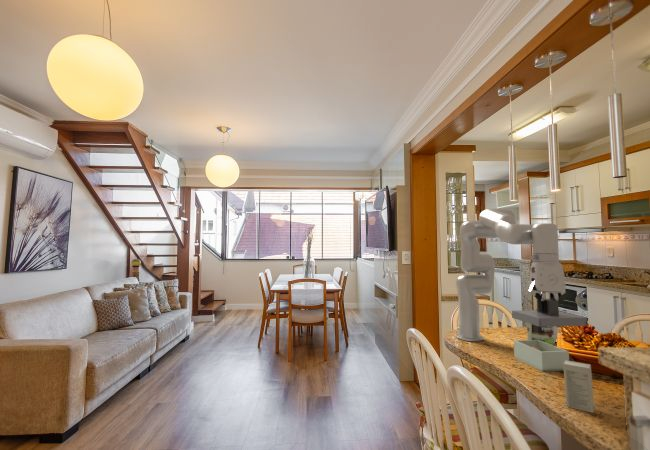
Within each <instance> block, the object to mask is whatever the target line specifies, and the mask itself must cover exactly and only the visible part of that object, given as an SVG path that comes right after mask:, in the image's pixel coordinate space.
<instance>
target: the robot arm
mask: <svg viewBox="0 0 650 450" xmlns="http://www.w3.org/2000/svg"><path fill="white" fill-rule="evenodd" d="M516 223H517V221H516V215H515V213H514V212H513V210H510V209H509V208H487V209H486V208H485V209H484V210H482V211H481V212H480V213H479V216H478V219H477V220H476V219H475V220H467V221H464V222H462V224H461V225H460V227H459V237H460V242H461V244H460V245H461V246H460V247H461V249H460V268H461V270H462V271H463V272H465V273H480V274H461V275H458V277H456V280H455V286H456V290H457V296H458V301H457V302H458V326H457V330H458V332H457V333H456V334H455V337H456V338H457V339H459V340H461V341H466V342H473V343H474V342H477V343H478V342H482V341H484V336H482V335H480V333H481V330H480V324H481V323H480V322H481V321H480V302H479V300H478V298H477V297H476V296H475V295H476V294H477V295H478V294H482V295H484V294H491V292H492V291H493V289H494V284H495V281H494V280H495V267H496V264H495V261H494V257H493V256H492V255H491V254H489V253H480V252H481V244H480V243H479V241H478V239H497V238H498V239H499V240H501V241H503V242H505V243H507V244H510V245H532V255H530V259H531V260H532V262H531V264H530V271H529V289H528V290H527V292H528V294H531V295H532V296H533V297H534V298H535V300H536V301H537V300H538V311H539V312H543V313H547V302H546V301H545V298H546V293H548V299H552V300H557V301H558V302H559V300H560V297H561V296H563V295H564V294H566V292H567V291H566V278H565V271H564V268H563V265H562V263H561V262H560V258H559V257H560V256H559V232H558V231H559V230H558V225H557V224H555V223H536V224H528V223H527V224H525V223H524V224H522V223H521V224H520V223H519V224H516Z"/></svg>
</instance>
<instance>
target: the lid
mask: <svg viewBox="0 0 650 450" xmlns="http://www.w3.org/2000/svg"><path fill="white" fill-rule="evenodd" d="M545 301H546V302H547V313H543V312H539V311H538V300H536V308H537V309H536V310H535V309H533V310H528V309H527V310H525V309H523V310H511V318H512V319H515V320H518V321H521V322H524V323H526V324H527V323H530V324H533V325H536V326H539V327H547V326H557V327H582V326H583V327H585V326H586V327H587V326H588V325H589V324H588V317H585V316H581V315H577V314H573V313H568V312H565V311H561V310H559V300H558V301H557V300H552V299H549V298H546V297H545Z"/></svg>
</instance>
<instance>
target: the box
mask: <svg viewBox="0 0 650 450" xmlns="http://www.w3.org/2000/svg"><path fill="white" fill-rule="evenodd" d="M513 352H514V353H513V354H514V355H513V356H514V358H515V359H517V360H518V361H521V362H522V363H524V364H526V365H529V366H531V367H532V368H534V369H537V370H538V371H540V372H544V373H545V372H564V365H563V363H564V361H565V360H568V361H570V351H569V350H567V349H564V348H561V347H558V346H556V345H554V346H553V345H551V344H548V343H545V342H543V341H540V340H527V339H521V340H520V339H519V340H518V339H517V340H513Z"/></svg>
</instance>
